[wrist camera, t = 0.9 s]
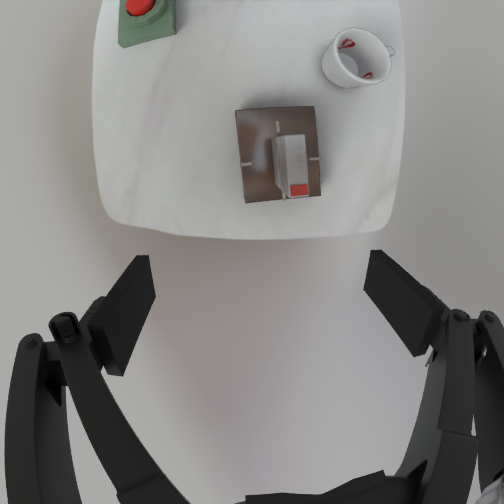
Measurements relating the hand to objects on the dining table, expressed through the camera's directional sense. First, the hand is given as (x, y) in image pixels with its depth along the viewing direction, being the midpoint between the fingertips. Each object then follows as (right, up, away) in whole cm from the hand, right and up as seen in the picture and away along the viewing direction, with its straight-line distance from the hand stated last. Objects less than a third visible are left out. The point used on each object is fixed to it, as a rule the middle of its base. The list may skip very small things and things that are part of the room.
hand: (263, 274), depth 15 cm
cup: (+13, +28, +15) cm, 35 cm away
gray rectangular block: (+3, +13, +17) cm, 21 cm away
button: (-16, +34, +6) cm, 38 cm away
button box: (-16, +36, +10) cm, 40 cm away
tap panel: (+3, +15, +20) cm, 25 cm away
